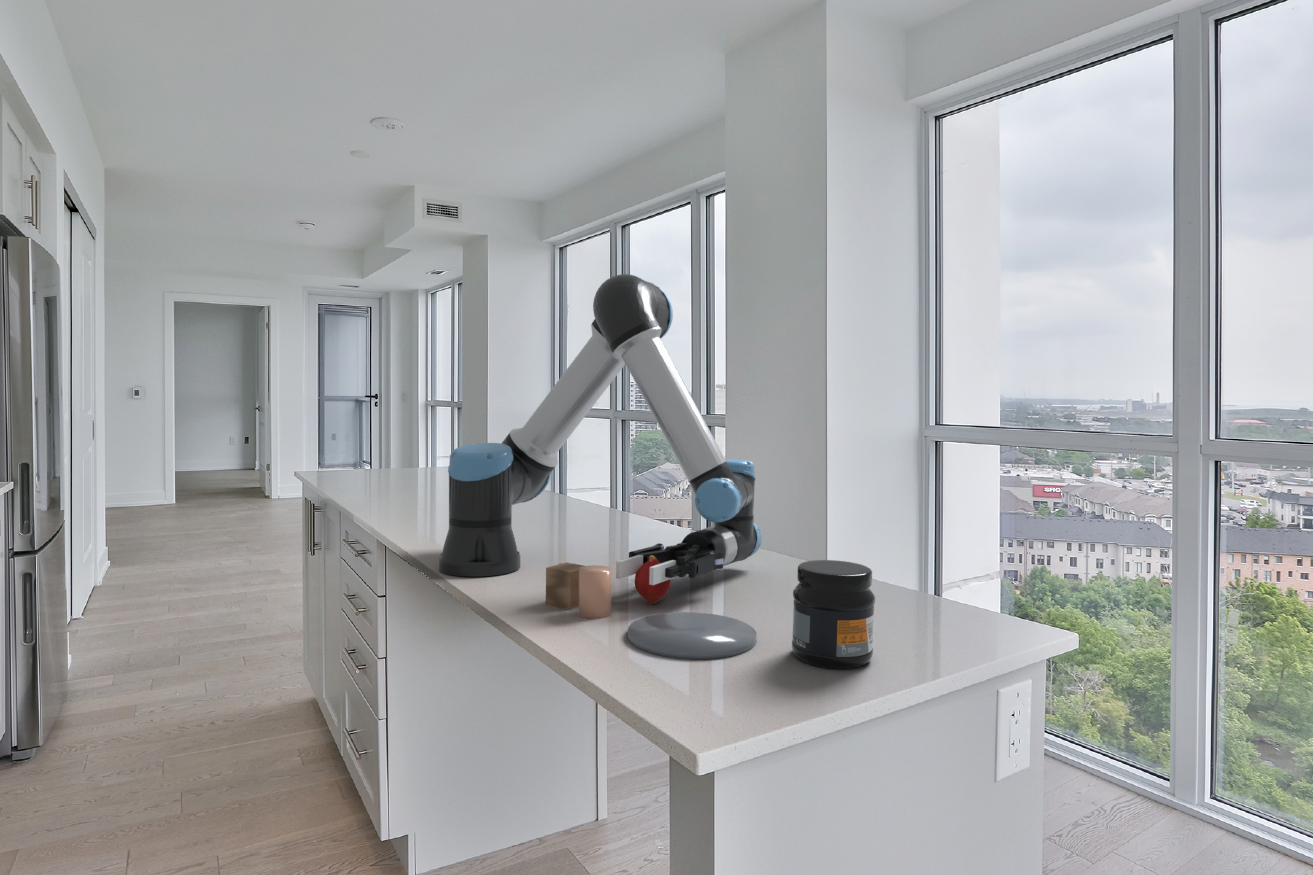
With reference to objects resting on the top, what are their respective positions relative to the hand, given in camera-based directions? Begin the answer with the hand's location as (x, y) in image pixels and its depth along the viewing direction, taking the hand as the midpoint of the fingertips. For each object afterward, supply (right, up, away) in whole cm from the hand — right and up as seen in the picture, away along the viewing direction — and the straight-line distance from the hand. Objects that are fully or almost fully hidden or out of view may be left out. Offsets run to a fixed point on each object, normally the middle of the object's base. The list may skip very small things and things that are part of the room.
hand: (634, 573), depth 123 cm
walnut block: (-11, -6, +4) cm, 13 cm away
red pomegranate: (+3, -6, +5) cm, 8 cm away
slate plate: (+8, -7, -12) cm, 16 cm away
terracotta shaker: (-6, -6, -1) cm, 9 cm away
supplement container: (+26, -8, -19) cm, 34 cm away
